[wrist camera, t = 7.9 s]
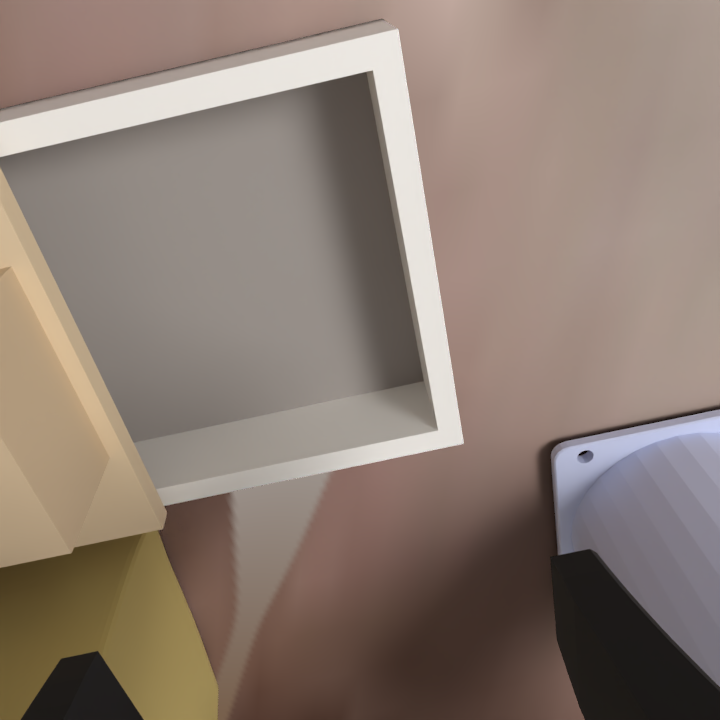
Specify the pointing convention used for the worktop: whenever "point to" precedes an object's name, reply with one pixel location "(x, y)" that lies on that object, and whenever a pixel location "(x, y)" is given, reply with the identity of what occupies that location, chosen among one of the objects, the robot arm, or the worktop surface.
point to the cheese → (105, 628)
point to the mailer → (247, 258)
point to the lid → (57, 420)
